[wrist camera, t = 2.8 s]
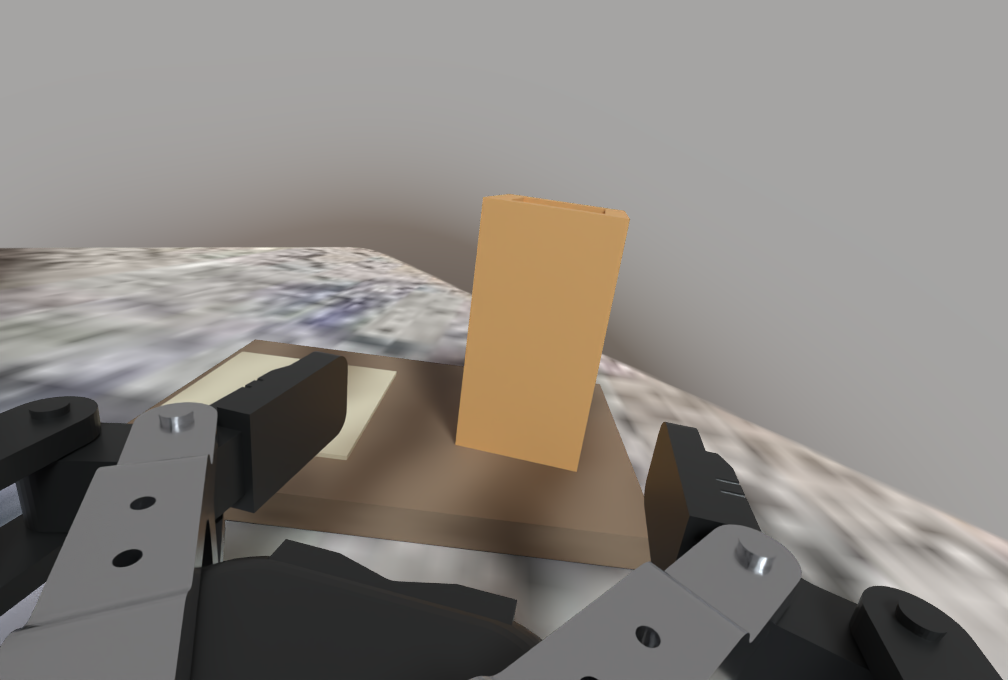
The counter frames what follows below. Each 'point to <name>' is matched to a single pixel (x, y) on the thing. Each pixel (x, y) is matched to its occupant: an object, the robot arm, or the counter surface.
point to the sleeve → (537, 326)
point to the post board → (441, 469)
